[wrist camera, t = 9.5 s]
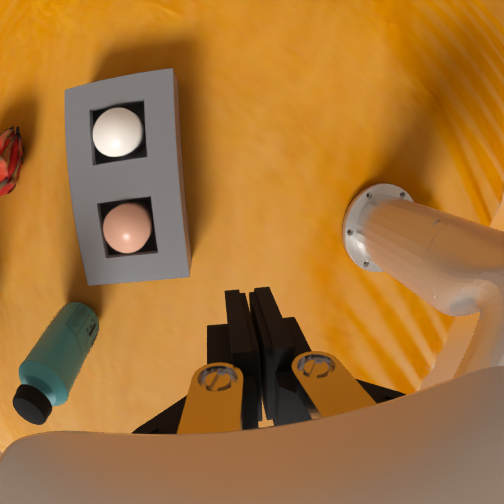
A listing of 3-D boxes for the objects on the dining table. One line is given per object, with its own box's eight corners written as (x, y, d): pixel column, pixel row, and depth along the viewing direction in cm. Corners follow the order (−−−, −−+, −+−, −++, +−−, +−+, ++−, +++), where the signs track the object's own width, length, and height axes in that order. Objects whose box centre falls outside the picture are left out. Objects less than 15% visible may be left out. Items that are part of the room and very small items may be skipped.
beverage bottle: (57, 301, 37) (-12, 389, 18) (92, 290, 38) (29, 385, 19) (76, 338, 39) (25, 435, 21) (112, 330, 40) (68, 435, 21)
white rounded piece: (145, 109, 30) (138, 103, 26) (148, 152, 31) (140, 152, 27) (103, 116, 29) (91, 112, 25) (106, 159, 31) (94, 160, 27)
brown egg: (152, 197, 33) (145, 202, 29) (157, 240, 34) (152, 250, 31) (111, 202, 32) (99, 208, 28) (117, 244, 34) (107, 255, 30)
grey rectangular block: (178, 81, 31) (172, 68, 26) (191, 258, 38) (189, 277, 33) (84, 98, 30) (64, 89, 24) (103, 267, 37) (88, 285, 31)
